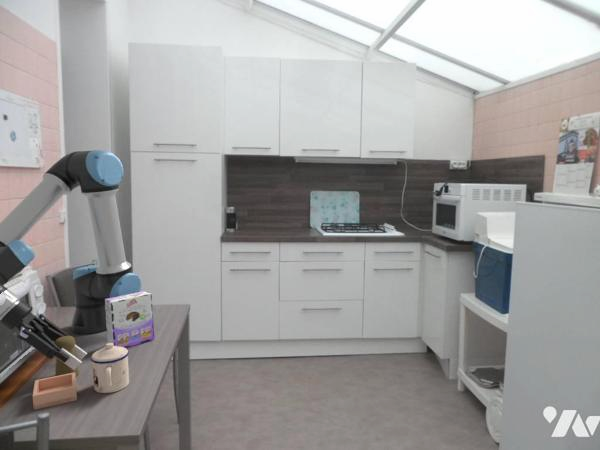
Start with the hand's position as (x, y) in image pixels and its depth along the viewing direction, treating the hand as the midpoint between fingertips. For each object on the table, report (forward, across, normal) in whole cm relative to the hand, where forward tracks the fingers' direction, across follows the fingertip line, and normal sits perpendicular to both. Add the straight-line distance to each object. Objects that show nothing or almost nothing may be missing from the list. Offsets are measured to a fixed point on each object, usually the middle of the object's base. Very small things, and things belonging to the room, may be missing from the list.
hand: (80, 361), depth 121 cm
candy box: (+10, -20, +5) cm, 23 cm away
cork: (0, 0, -5) cm, 5 cm away
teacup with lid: (+10, +11, +4) cm, 15 cm away
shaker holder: (0, +12, -5) cm, 13 cm away
